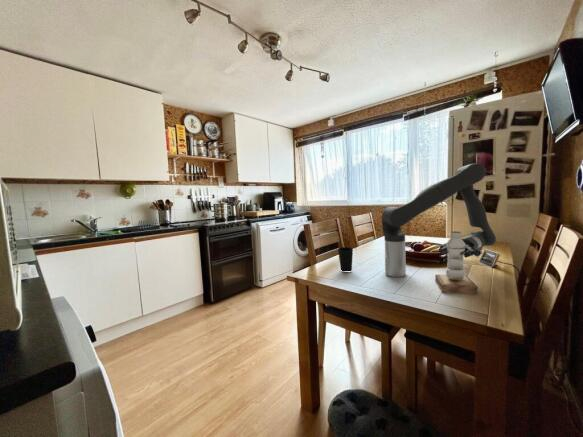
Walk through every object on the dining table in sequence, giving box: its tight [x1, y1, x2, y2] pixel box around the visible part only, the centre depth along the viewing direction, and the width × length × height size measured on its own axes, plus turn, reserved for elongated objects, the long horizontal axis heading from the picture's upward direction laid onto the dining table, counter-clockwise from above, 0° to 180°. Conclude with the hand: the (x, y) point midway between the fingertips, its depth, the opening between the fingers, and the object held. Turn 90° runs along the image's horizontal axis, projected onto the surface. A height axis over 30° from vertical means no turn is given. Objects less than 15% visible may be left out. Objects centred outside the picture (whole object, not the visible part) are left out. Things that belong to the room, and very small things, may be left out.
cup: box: [337, 246, 354, 271], centre depth 133 cm, size 8×8×12 cm
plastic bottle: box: [445, 230, 466, 280], centre depth 103 cm, size 6×7×20 cm
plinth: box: [434, 274, 479, 295], centre depth 105 cm, size 12×12×3 cm
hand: (453, 253), depth 102 cm, fingers open, 8 cm apart
